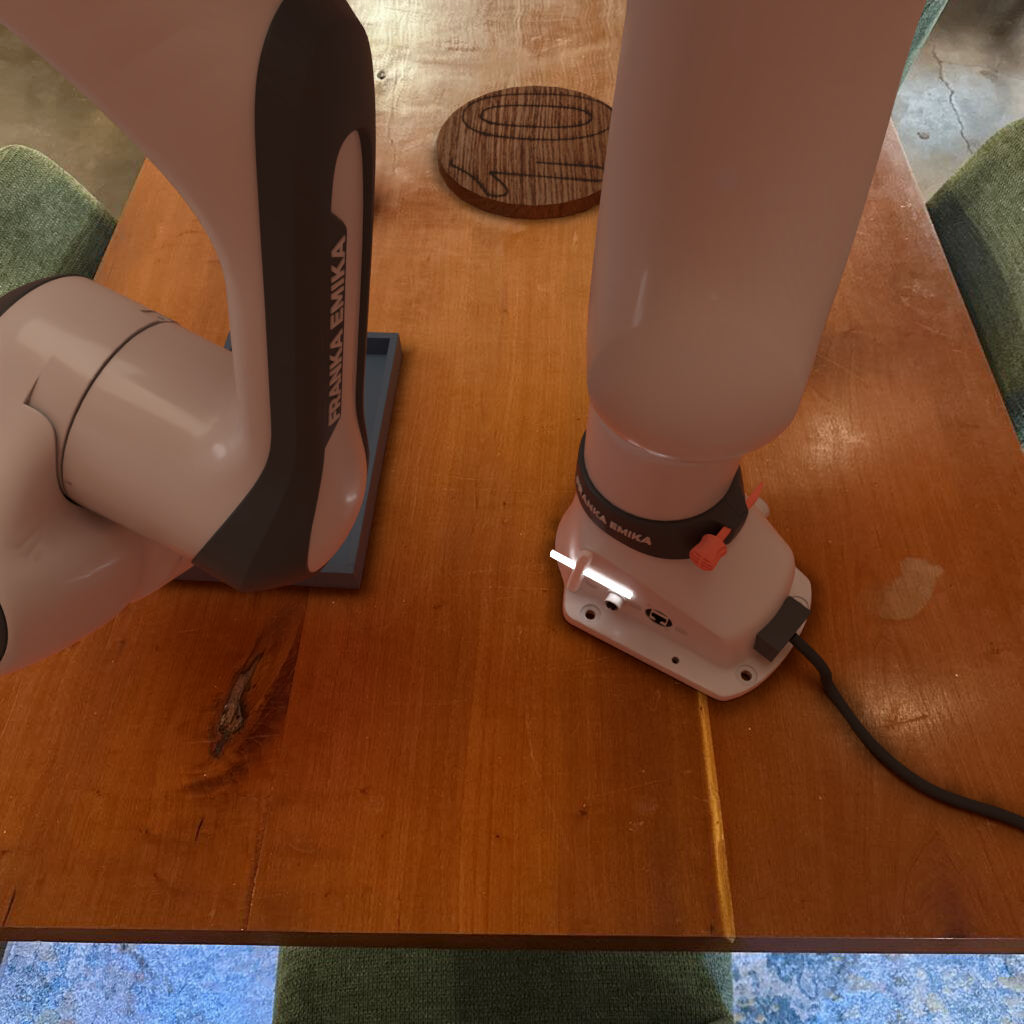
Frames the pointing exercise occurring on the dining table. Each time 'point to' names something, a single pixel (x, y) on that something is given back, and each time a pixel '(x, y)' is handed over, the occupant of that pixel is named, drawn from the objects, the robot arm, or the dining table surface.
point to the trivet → (527, 151)
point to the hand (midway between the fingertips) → (229, 473)
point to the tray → (377, 411)
